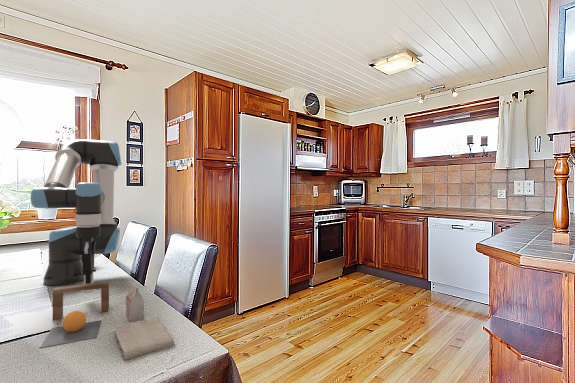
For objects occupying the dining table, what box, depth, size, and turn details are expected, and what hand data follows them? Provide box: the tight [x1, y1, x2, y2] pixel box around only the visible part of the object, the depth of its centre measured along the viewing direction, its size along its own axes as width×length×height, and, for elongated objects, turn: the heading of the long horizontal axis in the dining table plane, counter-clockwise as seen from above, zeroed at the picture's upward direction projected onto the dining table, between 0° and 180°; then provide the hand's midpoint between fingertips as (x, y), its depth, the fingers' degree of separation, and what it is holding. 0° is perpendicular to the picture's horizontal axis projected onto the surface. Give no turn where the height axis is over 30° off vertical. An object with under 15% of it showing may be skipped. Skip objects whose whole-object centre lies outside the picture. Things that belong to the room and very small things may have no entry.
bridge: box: [52, 281, 110, 322], centre depth 95 cm, size 3×14×9 cm, turn 116°
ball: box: [61, 310, 87, 332], centre depth 83 cm, size 6×6×6 cm
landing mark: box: [39, 319, 102, 349], centre depth 82 cm, size 12×12×1 cm
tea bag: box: [125, 283, 145, 323], centre depth 93 cm, size 4×7×10 cm, turn 39°
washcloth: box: [114, 316, 175, 361], centre depth 79 cm, size 12×18×3 cm, turn 38°
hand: (88, 291), depth 107 cm, fingers closed
